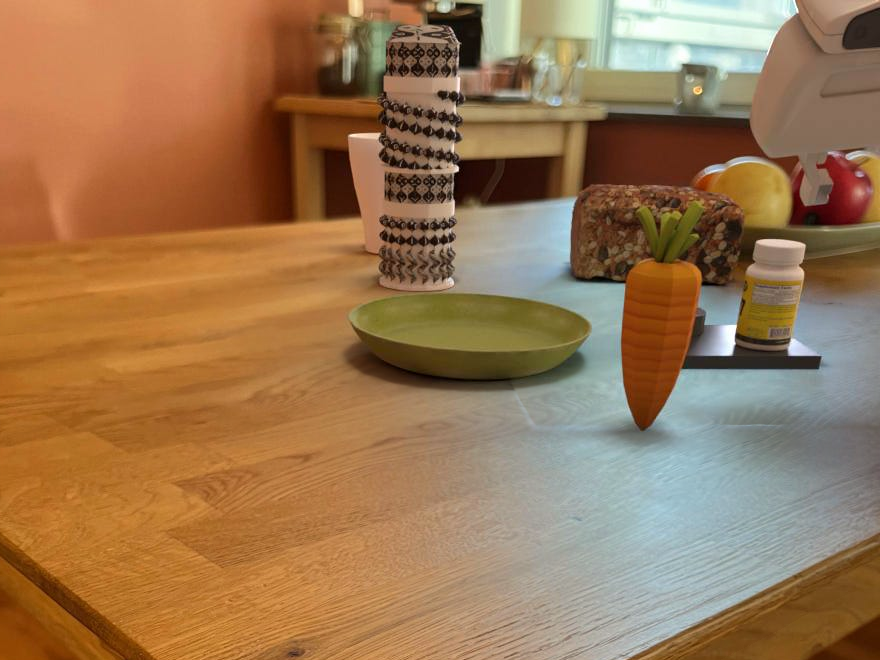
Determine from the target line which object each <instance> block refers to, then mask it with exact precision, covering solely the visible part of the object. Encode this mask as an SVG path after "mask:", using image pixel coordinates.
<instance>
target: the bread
mask: <svg viewBox="0 0 880 660" xmlns="http://www.w3.org/2000/svg"><path fill="white" fill-rule="evenodd" d="M692 201H699V202H701V204H702V206H703V208H704V211H703V213H702V214H701V216H700V218H699V220H698V221H697V223H696V224H695V226H694V228H693V229H692V231H691V232H690V234H689V235H691V234H698V236H699V239H698V240H697V241H696V242H695V243H694V244H693V245H691V246H690V247H689V248H688V249H687V250H686V251H685V252H684V253H682V254H681V255H680V256H679V257H678V258H677V259H679V260H682V261H686V262H689V263H692V264H693V265H695V266H697V268H698V269H699V270H700V272H701V277H702V283H701V284H717V285H722V284H725V283H729V282H731V281H732V279H734V278H733V277H734V275H735V269H736V267H738V263H737V262H739V256H740V254H741V246H742V244H743V243H742V242H743V236H744V228H743V227H744V225H745V211H744V210H743V208H741V205H739V204H737V203H735V201H734V200H733V199H732V198H731V197H730V196H728V195H727V194H722V193H712V192H709V191H704V190H699V189H695V188H694V189H693V188H690V189H689V188H687V187H682V186H676V185H672V186H669V185H660V184H653V185H652V184H644V185H630V184H628V185H626V184H620V185H616V184H611V183H606V184H602V183H599V184H598V183H592V184H590V185H589V186H587V187H586V188H584V189H583V190H581V191H579V194H578V195H577V198H576V200H575V201H574V204H573V207H572V208H573V209H572V212H571V221H570V226H571V227H570V237H569V238H570V241H569V242H570V251H569V265H570V268H571V271H572V274H573V276H574V278H577V279H585V280H591V279H592V278H594V277H603V278H606V279H608V280H613V281H621V282H626V280H627V276H628V274H629V271H630V270H631V269H632V268H633V267H635V266H636V265H637V264H638V263H639V262H641V261H643V260H645V259H651V258H654V256H653V253H652V250H651V248H650V245H649V242H648V239H647V236H646V234H645V231H644V228H643V225H642V223H641V221H640V219H639V217H638V215H637V213H636V212H637V211H638V210H639V209H640V208H641V207H644V206H646V207H647V208H648V209H649V211H650V212H651V214H652V216H653V218H654V221H655V225H656V229H657V233H658V238H660V230H661V216H662V215H663V214H664V213H666V212H668V213H669V214H670V215H671V214H672V213H673V212H674V211H675V212H679V213H680V214H682V216H681V218H680V220H679V222H678V224H677V225H676V227H675V229H674V230H675V231H676V229H677V227H678V225H679V223H680V221H681V219H682V218H683V216H684V214H685V212H686V211H687V209H688V207H689V206H690V204H691V203H692Z"/></svg>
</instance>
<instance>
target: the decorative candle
mask: <svg viewBox="0 0 880 660" xmlns="http://www.w3.org/2000/svg"><path fill="white" fill-rule="evenodd" d="M460 45H462V43H461V42H460V41H458V38H457V37H456V35H455V31H454V30H453V29H452V27H451V26H449V25H445V24H419V23H418V24H416V23H415V24H414V23H413V24H408V23H407V24H404V23H402V24H398V25H396V26H395V27H394V28H393V30H392V31H391V34H390V36H389V38H388V39H387V40H385V75H383V91H382V93H381V94H379V95H378V97H377V99H376V102H377V104H378V105H379V106H380V107H381V108H382V109H383V110H381V111H380V112H379V114H378V115H377V117H376V118H377V120H378V121H379V123H380V124H381V125H382V126H383V127H385V128H384V130H383V131H382V132H380V133H381V134H380V136H379V142H380V143H381V144H382V145H383V146H384V148H383V149H382V150H381V152H379V158H380V159H381V161H383V162H384V163H383V164H381V166H380V169H381V170H382V171H385V179H384V198H383V214H384V215H383V216H381V217H380V218H379V222H380V223H381V225H383V226H384V227H385V229H384V230H383V231H382V232H380V234H379V237H380V238H381V239H382V240H383V241H385V245H383V246H382V247H381V248H380V249H379V254H378V256H379V257H380V259H381V262H380V263H379V264H378V270H379V272H380V273H381V274H382V275H383V276H381V277H379V285H380V286H382V287H384V288H386V289H387V288H388V289H393V290H398V291H408V292H433V291H441V290H447V289H449V288H451V287H453V286H455V282H454V279H453V278H452V276H453V275H454V272H455V270H456V266H455V265H454V264H453V261H454V260H455V257H456V255H457V252H456V251H455V249H454V248H453V246H452V245H451V243H453V242H454V241H455V240H456V239H457V235H456V234H455V232H453V231H452V228H454V227H455V226H456V225H457V224H458V220H457V218H455V217H454V215H455V208H456V207H455V204H456V201H455V199H454V189H455V188H454V187H455V181H454V178H455V177H454V176H455V173H457V172H460V171H459V170H460V167H459V166H458V165H457V164H458V163H459V162H461V161H460V160H461V156H460V155H459V154H458V153H457V152H456V151H455V146H457V145H458V143H460V142H462V141H463V135H462V134H461V133H460V132H459V131H458V130H457V129H458V128H459V127H461V126H462V125H463V124H464V118H463V117H462V116H461V115H460V114H459V112H458V111H457V108H458V107H459V108H460V106H461V105H463V104H465V103H466V100H467V99H466V97H465V95H464V94H463V93H462V92H461V89H460V86H461V77H459V66H460V64H459V63H460V62H459V61H460V56H459V52H460ZM456 112H457V113H456Z"/></svg>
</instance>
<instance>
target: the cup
mask: <svg viewBox="0 0 880 660" xmlns="http://www.w3.org/2000/svg"><path fill="white" fill-rule="evenodd" d="M381 133H382V132H363V133H351V134H348V135H347V143H348V158H349V163H350V168H351V169H350V170H351V174H352V180H353V186H354V190H355V194H356V197H357V202H358V206H359V210H360V217H361V220H362V227H363V233H364V234H363V235H364V247H365V251H366V252H367V253H369V254H374V255H379V249H380V248H381V247H382V246H383V245H385V241H383V240H382V239H381V238H380V237H379V234H380V232H382V231H383V230H384V229H385V227H384V226H383V225H381V223H380V222H379V218H380V217H381V216H383V215H384V214H383V198H384V179H385V171H382V170H381V169H380V166H381V164H383V163H384V162H383V161H381V159H380V158H379V152H381V150H382V149H383V148H384V146H383V145H382V144H381V143H380V142H379V136H380V134H381Z"/></svg>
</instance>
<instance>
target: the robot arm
mask: <svg viewBox="0 0 880 660" xmlns="http://www.w3.org/2000/svg"><path fill="white" fill-rule="evenodd" d="M793 2H794V6H795V9H796V11H797V12H795V13H794V14H792V15H790V17H788V18H787V19H786V20H785V21H784V23H783V24H782V25H781V26H780V27H779V28H778V30H777V32H776V34H775V35H774V37H773V39H772V41H771V44H770V45H769V48H768V51H767V54H766V56H765V58H764V62H763V65H762V68H761V71H760V74H759V77H758V79H757V84H756V87H755V91H754V94H753V99H752V103H751V106H750V110H749V111H750V112H749V126H750V130H751V132H752V135H753V137H754V139H755V141H756V143H757V144H758V146H759V148H760V149H761V150H762V152H763V153H764V155H766V156H767V157H768V158H770V159H778V158H786V157H787V158H788V157H794V156H795V157H798V160H799V162H800V163H799V164H800V165H801V167H802V171H803V172H804V173H803V177H802V180H801V184H800V187H799V198H800V200H801V202H802V204H803V206H804V207H809V206H818V205H826V204H828V202H829V199H830V197H829V195H830V194H831V193H832V190H833V186H834V184H835V183H834V182H833V179H832V177H830V175H829V174H830V173H829V172H828V170H827V168H818V167H817V165H824V164H825V163H826V161H827V158H828V156H829V155H828V154H829V153H830V152H837V151H847V150H855V149H865V148H873V147H880V0H793Z"/></svg>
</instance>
